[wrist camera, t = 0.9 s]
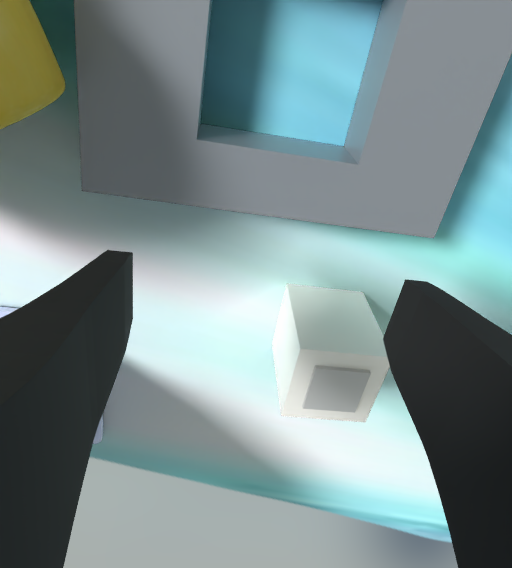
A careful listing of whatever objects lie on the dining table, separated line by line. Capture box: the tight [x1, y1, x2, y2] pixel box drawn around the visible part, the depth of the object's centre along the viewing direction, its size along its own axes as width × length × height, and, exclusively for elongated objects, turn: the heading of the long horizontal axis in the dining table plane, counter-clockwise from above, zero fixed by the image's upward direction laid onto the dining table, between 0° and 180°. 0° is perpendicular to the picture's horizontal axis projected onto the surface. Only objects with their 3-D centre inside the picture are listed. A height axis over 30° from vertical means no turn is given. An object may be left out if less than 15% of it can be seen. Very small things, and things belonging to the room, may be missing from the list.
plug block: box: [272, 283, 390, 422], centre depth 21 cm, size 4×4×5 cm
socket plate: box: [74, 0, 512, 238], centre depth 15 cm, size 11×14×3 cm
